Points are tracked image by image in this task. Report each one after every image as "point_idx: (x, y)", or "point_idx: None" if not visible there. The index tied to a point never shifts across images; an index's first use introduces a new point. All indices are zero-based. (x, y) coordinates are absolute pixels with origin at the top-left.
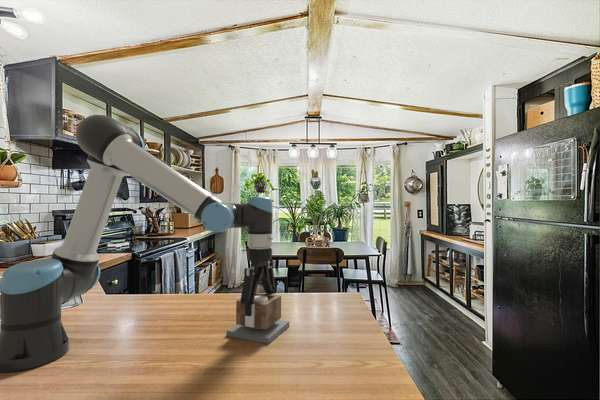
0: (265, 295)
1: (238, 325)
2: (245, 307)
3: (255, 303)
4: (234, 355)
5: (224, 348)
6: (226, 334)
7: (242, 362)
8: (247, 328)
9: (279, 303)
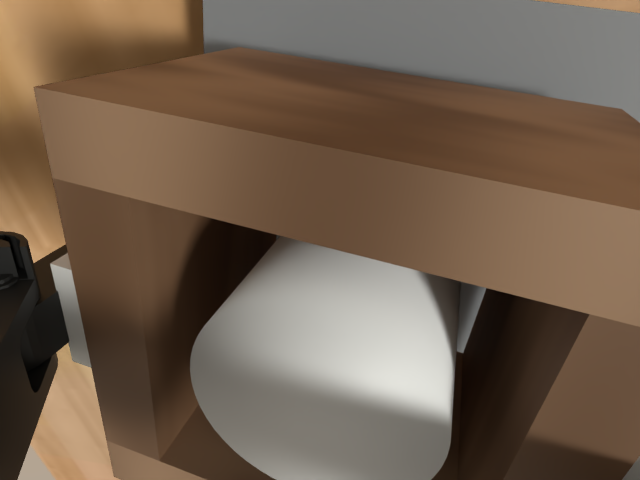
0: (502, 476)
1: (346, 22)
2: (37, 265)
3: (95, 384)
4: (48, 167)
5: (71, 71)
6: None
7: (27, 227)
8: None
9: None
